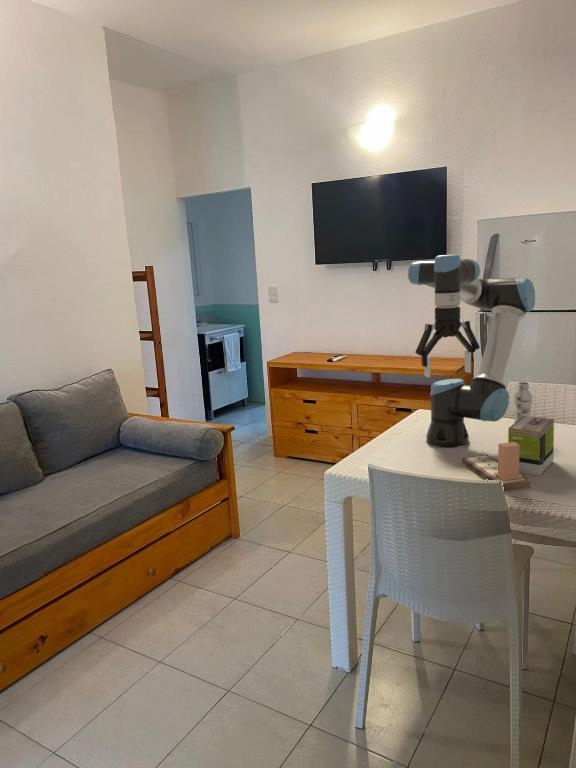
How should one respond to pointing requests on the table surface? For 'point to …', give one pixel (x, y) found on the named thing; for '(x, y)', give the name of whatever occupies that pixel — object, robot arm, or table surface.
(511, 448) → the tan upright block
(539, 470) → the tea box
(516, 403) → the plastic bottle
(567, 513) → the table surface
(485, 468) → the board
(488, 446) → the table surface
